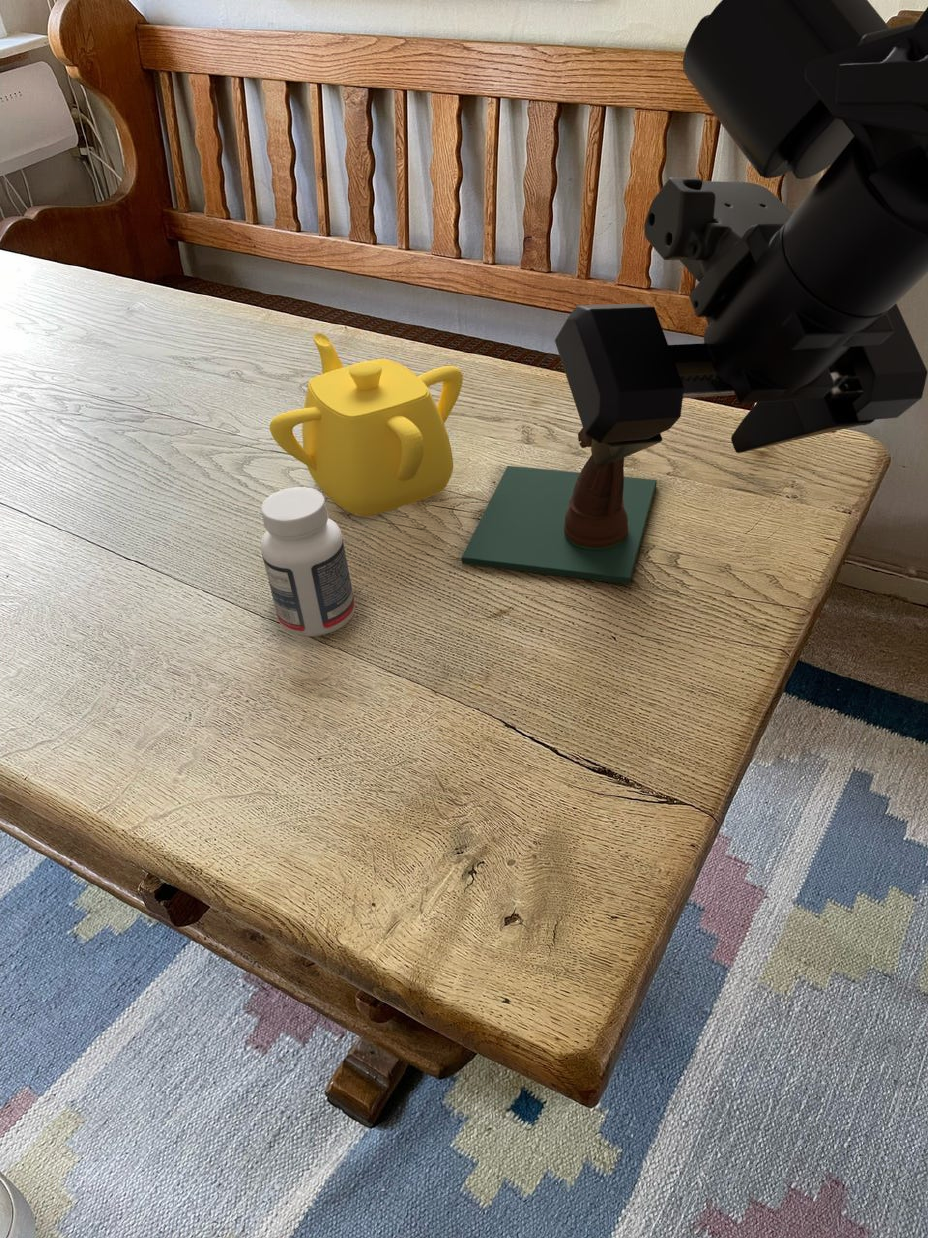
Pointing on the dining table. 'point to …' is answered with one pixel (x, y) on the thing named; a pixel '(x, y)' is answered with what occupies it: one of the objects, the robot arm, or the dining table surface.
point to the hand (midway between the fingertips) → (667, 451)
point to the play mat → (553, 528)
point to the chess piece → (597, 504)
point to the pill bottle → (305, 563)
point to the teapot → (372, 432)
